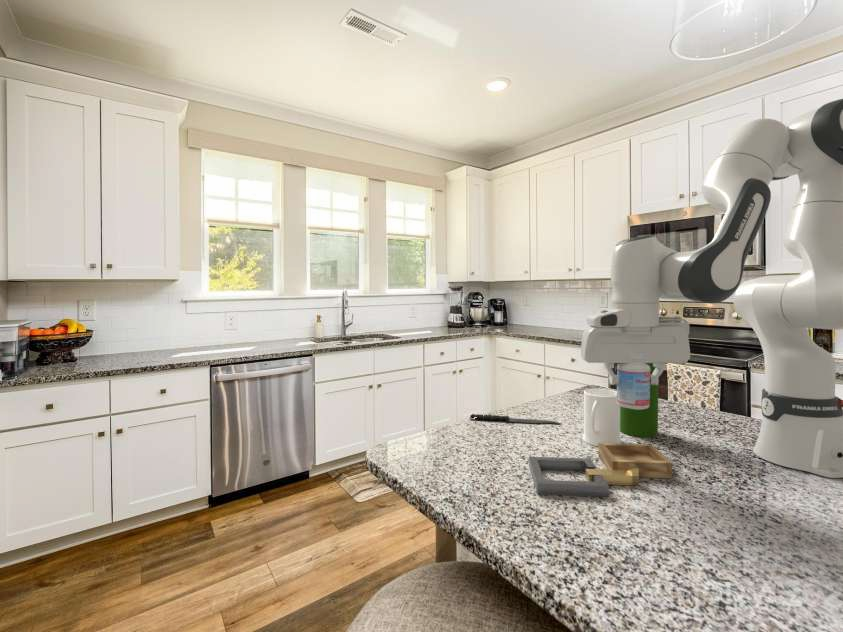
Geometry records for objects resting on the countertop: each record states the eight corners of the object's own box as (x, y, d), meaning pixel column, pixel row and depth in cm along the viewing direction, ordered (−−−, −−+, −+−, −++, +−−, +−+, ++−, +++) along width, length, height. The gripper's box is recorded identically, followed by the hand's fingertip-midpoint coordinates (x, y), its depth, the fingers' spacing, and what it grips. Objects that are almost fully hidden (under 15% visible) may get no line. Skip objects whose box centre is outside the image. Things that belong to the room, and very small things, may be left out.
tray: (651, 457, 92) (651, 444, 92) (672, 478, 82) (672, 463, 82) (598, 456, 94) (598, 443, 93) (612, 476, 84) (612, 461, 84)
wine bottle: (652, 426, 112) (653, 304, 110) (662, 438, 104) (664, 305, 102) (615, 425, 115) (616, 304, 113) (622, 436, 106) (623, 305, 104)
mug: (607, 454, 95) (608, 401, 94) (571, 445, 100) (570, 395, 100) (626, 440, 103) (626, 391, 102) (591, 432, 109) (591, 386, 108)
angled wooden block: (633, 479, 82) (633, 463, 82) (638, 485, 80) (638, 468, 79) (585, 477, 83) (585, 461, 83) (588, 483, 81) (588, 467, 81)
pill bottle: (642, 412, 83) (643, 355, 82) (611, 405, 88) (612, 351, 87) (654, 406, 87) (655, 351, 86) (624, 400, 92) (625, 348, 91)
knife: (562, 417, 119) (562, 423, 114) (562, 423, 119) (562, 428, 114) (472, 412, 126) (469, 417, 121) (472, 417, 126) (469, 422, 121)
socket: (590, 467, 88) (590, 458, 88) (608, 496, 76) (608, 486, 75) (528, 466, 89) (528, 456, 89) (537, 494, 77) (537, 483, 77)
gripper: (681, 315, 88) (680, 381, 89) (579, 316, 91) (578, 380, 91) (697, 317, 82) (695, 388, 82) (586, 318, 84) (586, 387, 85)
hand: (633, 384), depth 87 cm, fingers closed on pill bottle, 6 cm apart
